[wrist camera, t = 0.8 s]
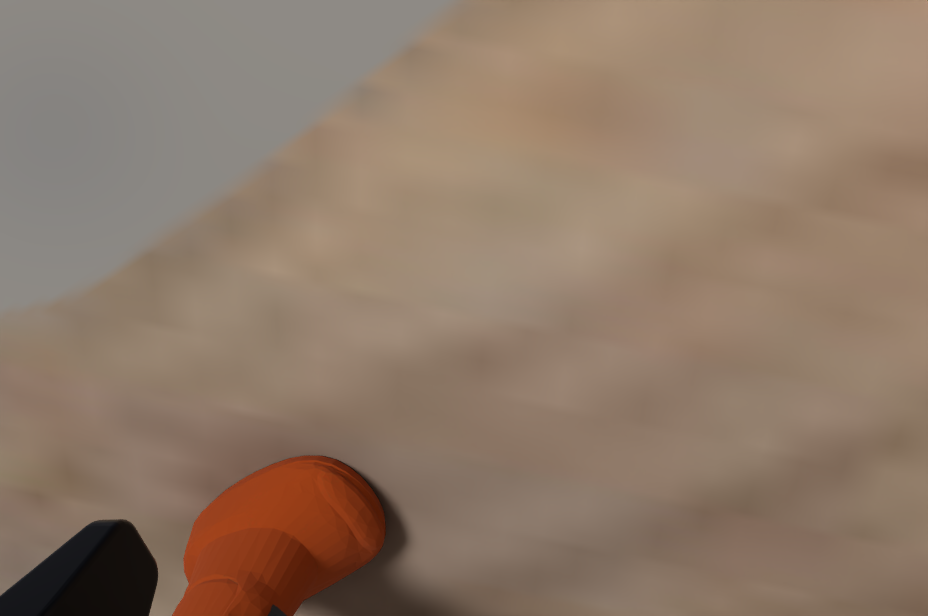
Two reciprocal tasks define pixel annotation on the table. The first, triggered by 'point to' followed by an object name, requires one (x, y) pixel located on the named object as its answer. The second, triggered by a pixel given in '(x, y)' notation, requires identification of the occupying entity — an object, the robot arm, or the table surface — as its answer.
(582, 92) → the table surface
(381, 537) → the toy drill
